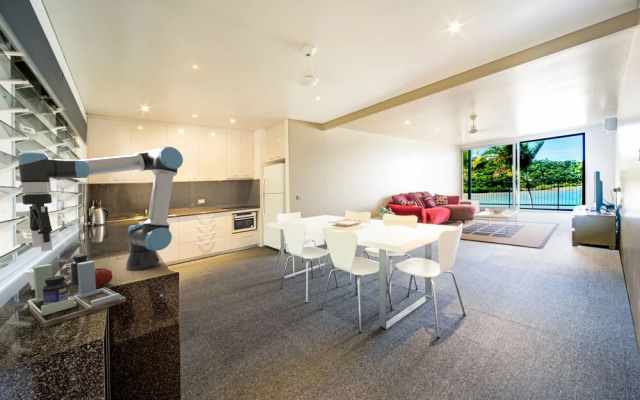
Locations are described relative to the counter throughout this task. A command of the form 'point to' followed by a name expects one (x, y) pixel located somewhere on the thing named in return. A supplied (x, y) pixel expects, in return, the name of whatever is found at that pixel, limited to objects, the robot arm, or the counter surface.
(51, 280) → the pill bottle
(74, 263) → the supplement bottle
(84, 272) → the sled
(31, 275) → the cup
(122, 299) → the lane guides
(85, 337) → the counter surface
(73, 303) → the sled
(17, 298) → the counter surface
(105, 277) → the tomato
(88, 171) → the robot arm
